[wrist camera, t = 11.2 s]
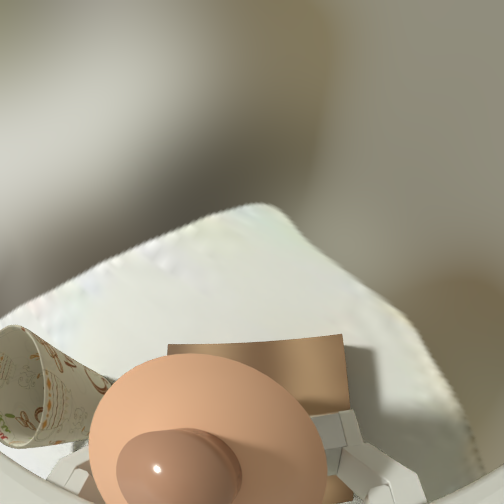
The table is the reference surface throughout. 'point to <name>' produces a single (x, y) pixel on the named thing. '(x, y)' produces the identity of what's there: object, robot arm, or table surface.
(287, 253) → the table surface
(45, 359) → the mug
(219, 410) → the canister
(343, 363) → the pedestal
